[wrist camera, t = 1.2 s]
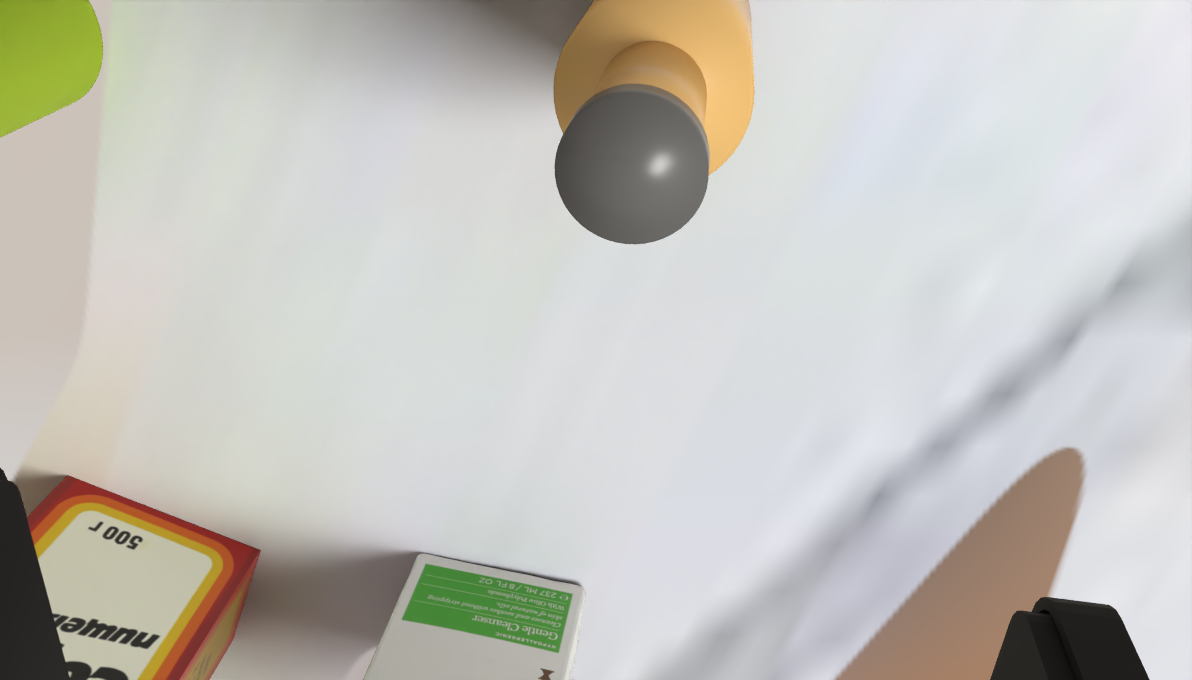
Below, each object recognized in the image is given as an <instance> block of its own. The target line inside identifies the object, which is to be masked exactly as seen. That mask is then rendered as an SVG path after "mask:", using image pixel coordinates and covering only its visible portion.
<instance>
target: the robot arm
mask: <svg viewBox="0 0 1192 680" xmlns="http://www.w3.org/2000/svg"><path fill="white" fill-rule="evenodd" d="M0 680H70V676H69V673H68V669H67V665H66V661H65V658H64V654H63V650H62V647H61V643H60V639H59V635H58V632H57V628H56V624H55V621H54V617H53V613H52V609H51V606H50V602H49V598H48V595H47V591H46V587H45V584H44V580H43V576H42V572H41V569H40V565H39V561H38V558H37V554H36V550H35V546H34V543H33V539H32V535H31V532H30V528H29V524H28V520H27V517H26V513H25V509H24V506H23V502H22V498H21V494H20V492H19V490H18V487H17V486H16V485H15V484H14V483H13V482H11V481H8V480H7V478H6V476H5V473H4V471H3V470H2V469H1V468H0ZM990 680H1149V678H1148V675H1147V673H1146V671H1145V669H1144V667H1143V665H1142V662H1141V660H1140V658H1139V656H1138V654H1137V652H1136V649H1135V647H1134V645H1133V643H1132V641H1131V638H1130V636H1129V634H1128V632H1127V630H1126V628H1125V625H1124V623H1123V621H1122V619H1121V617H1120V616H1119V614H1118V612H1117V611H1116V609H1114V608H1113V607H1111V606H1110V605H1105V604H1097V603H1089V602H1081V601H1073V600H1066V599H1058V598H1050V597H1043V598H1040V599H1039V600H1038V601H1037V602H1036V604H1035V606H1034V608H1033V610H1032V612H1027V611H1016V613H1015V614H1014V615H1013V616H1012V619H1011V621H1010V624H1009V626H1008V629H1007V632H1006V635H1005V638H1004V641H1003V644H1002V647H1001V650H1000V653H999V656H998V658H997V661H996V665H995V668H994V670H993V673H992V676H991V679H990Z"/></svg>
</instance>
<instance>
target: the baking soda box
mask: <svg viewBox="0 0 1192 680" xmlns="http://www.w3.org/2000/svg"><path fill="white" fill-rule="evenodd" d="M27 520H28V524H29V528H30V532H31V535H32V539H33V543H34V546H35V550H36V554H37V558H38V561H39V565H40V569H41V572H42V576H43V580H44V584H45V587H46V591H47V595H48V598H49V602H50V606H51V609H52V613H53V617H54V621H55V624H56V628H57V632H58V635H59V639H60V643H61V647H62V650H63V654H64V658H65V661H66V665H67V669H68V673H69V676H70V680H209V679H210V678H211V676H212V674H213V673H214V671H215V669H216V668H217V666H218V664H219V663H220V661H221V659H222V657H223V656H224V654H225V652H226V651H227V649H228V647H229V646H230V644H231V642H232V641H233V638H234V635H235V632H236V628H237V625H238V622H239V619H240V615H241V612H242V609H243V606H244V602H245V599H246V596H247V593H248V589H249V586H250V583H251V580H252V576H253V573H254V570H255V567H256V563H257V560H258V557H259V554H260V550H258V549H256V548H253V547H251V546H248V545H246V544H243V543H240V542H238V541H235V540H233V539H230V538H228V537H225V536H222V535H220V534H217V533H215V532H212V531H210V530H207V529H204V528H202V527H199V526H197V525H194V524H192V523H189V522H186V521H184V520H181V519H179V518H176V517H174V516H171V515H168V514H166V513H163V512H161V511H158V510H156V509H153V508H150V507H148V506H145V505H143V504H140V503H138V502H135V501H132V500H130V499H127V498H125V497H122V496H120V495H117V494H114V493H112V492H109V491H107V490H104V489H102V488H99V487H96V486H94V485H91V484H89V483H86V482H84V481H81V480H78V479H76V478H73V477H71V476H67V477H66V478H65V479H64V480H63V481H62V482H61V483H60V484H59V485H58V486H57V487H56V488H55V489H54V490H53V491H52V492H51V493H50V494H49V495H48V496H47V497H46V498H45V499H44V500H43V501H42V502H41V503H40V504H39V505H38V506H37V507H36V508H35V510H34V511H33V512H32V513H31V514H30V515H29V516H28V517H27Z"/></svg>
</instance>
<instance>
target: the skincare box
mask: <svg viewBox="0 0 1192 680" xmlns="http://www.w3.org/2000/svg"><path fill="white" fill-rule="evenodd" d="M585 594H586V592H585V589H584V588H582V587H581V586H578V585H574V584H569V583H563V582H556V581H551V580H547V579H543V578H539V577H535V576H531V575H526V574H521V573H515V572H510V571H505V570H500V569H496V568H491V567H486V566H481V565H476V564H471V563H466V562H461V561H457V560H452V559H447V558H443V557H439V556H434V555H430V554H419V555H418V556H417V558H416V560H415V562H414V565H413V567H412V570H411V572H410V575H409V577H408V579H407V581H406V583H405V586H404V588H403V590H402V592H401V594H400V597H399V599H398V601H397V604H396V606H395V608H394V610H393V613H392V615H391V617H390V620H389V622H388V624H387V626H386V629H385V631H384V633H383V635H382V638H381V640H380V642H379V645H378V647H377V649H376V651H375V654H374V656H373V658H372V661H371V662H370V665H369V668H368V669H367V672H366V674H365V676H364V679H363V680H571V679H572V674H573V669H574V663H575V658H576V653H577V647H578V641H579V634H580V628H581V622H582V615H583V608H584V601H585Z"/></svg>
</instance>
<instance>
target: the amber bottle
mask: <svg viewBox="0 0 1192 680" xmlns="http://www.w3.org/2000/svg"><path fill="white" fill-rule="evenodd" d="M554 104H555V110H556V115H557V118H558V121H559V125H560V127H561V129H562V132H563V136H562V138H561V141H560V143H559V146H558V149H557V153H556V159H555V178H556V184H557V188H558V191H559V194H560V196H561V198H562V201H563V203H564V204H565V206H566V208H567V209H568V211H569V212H570V213H571V215H572V216H573V217H574V218H575V219H576V220H577V221H578V222H579V223H580V224H581V225H582V226H583V227H585V228H586V229H587V230H589V231H590V232H592V233H594V234H596V235H597V236H600V237H602V238H604V239H607V240H610V241H614V242H618V243H624V244H643V243H649V242H654V241H657V240H660V239H663V238H665V237H667V236H669V235H671V234H673V233H675V232H676V231H678V230H679V229H681V228H682V227H683V226H684V225H685V224H686V223H687V222H688V221H689V220H690V219H691V218H692V217H693V216H694V214H695V213H696V211H697V210H698V208H699V207H700V205H701V203H702V200H703V198H704V195H705V192H706V189H707V183H708V175H710V174H711V173H713V172H714V171H716V170H717V169H718V168H719V167H720V166H721V165H722V164H724V163H725V162H726V161H727V160H728V158H729V157H730V156H731V155H732V154H733V153H734V151H735V150H736V148H737V147H738V145H739V144H740V142H741V141H742V139H743V137H744V134H745V132H746V130H747V128H748V125H749V122H750V119H751V115H752V110H753V105H754V73H753V52H752V30H751V12H750V6H749V1H748V0H594V1H593V3H592V4H591V6H590V7H589V9H588V10H587V12H586V13H585V15H584V16H583V18H582V19H581V20H580V22H579V23H578V25H577V26H576V28H575V29H574V31H573V32H572V34H571V35H570V37H569V38H568V40H567V42H566V44H565V46H564V47H563V49H562V52H561V55H560V57H559V60H558V63H557V67H556V71H555V78H554Z"/></svg>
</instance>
